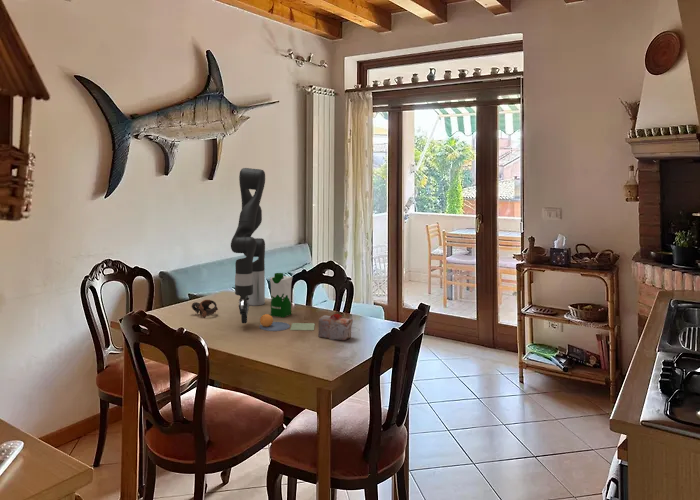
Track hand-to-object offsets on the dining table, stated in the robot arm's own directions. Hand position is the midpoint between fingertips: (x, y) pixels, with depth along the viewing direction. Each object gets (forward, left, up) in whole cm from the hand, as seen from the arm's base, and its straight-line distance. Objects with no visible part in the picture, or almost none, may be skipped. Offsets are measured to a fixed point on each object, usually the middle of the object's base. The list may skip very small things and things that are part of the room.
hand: (244, 322), depth 220 cm
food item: (+15, +39, -2) cm, 42 cm away
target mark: (0, +13, -2) cm, 13 cm away
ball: (0, +9, +1) cm, 10 cm away
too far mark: (0, +25, -2) cm, 25 cm away
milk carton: (-19, +14, -2) cm, 24 cm away
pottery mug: (-17, -21, -2) cm, 27 cm away
